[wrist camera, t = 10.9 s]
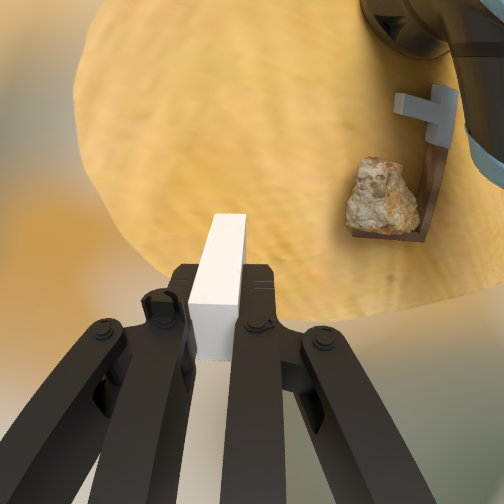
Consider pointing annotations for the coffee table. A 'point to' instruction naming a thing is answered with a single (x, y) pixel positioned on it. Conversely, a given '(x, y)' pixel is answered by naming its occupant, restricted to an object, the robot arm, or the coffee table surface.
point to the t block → (432, 112)
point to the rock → (381, 199)
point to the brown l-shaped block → (419, 198)
